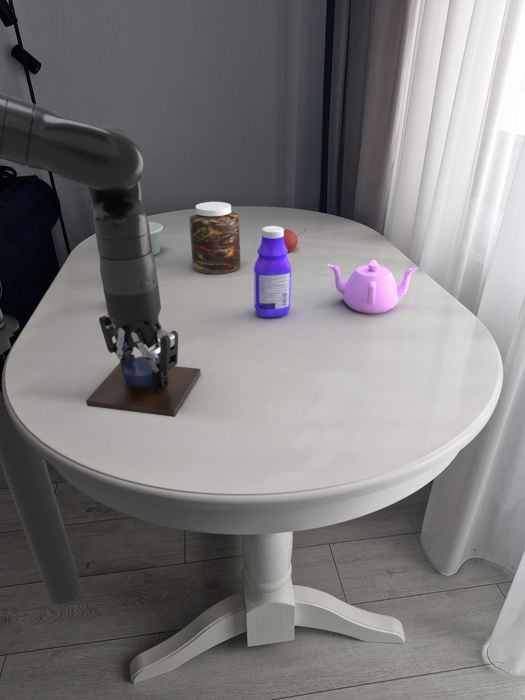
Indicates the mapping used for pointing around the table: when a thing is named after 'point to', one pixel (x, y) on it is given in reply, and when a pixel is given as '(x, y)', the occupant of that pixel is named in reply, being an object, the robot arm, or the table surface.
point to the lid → (138, 372)
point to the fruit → (290, 240)
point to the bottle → (272, 274)
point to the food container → (155, 236)
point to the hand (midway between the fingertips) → (145, 382)
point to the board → (145, 393)
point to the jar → (215, 238)
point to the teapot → (371, 288)
